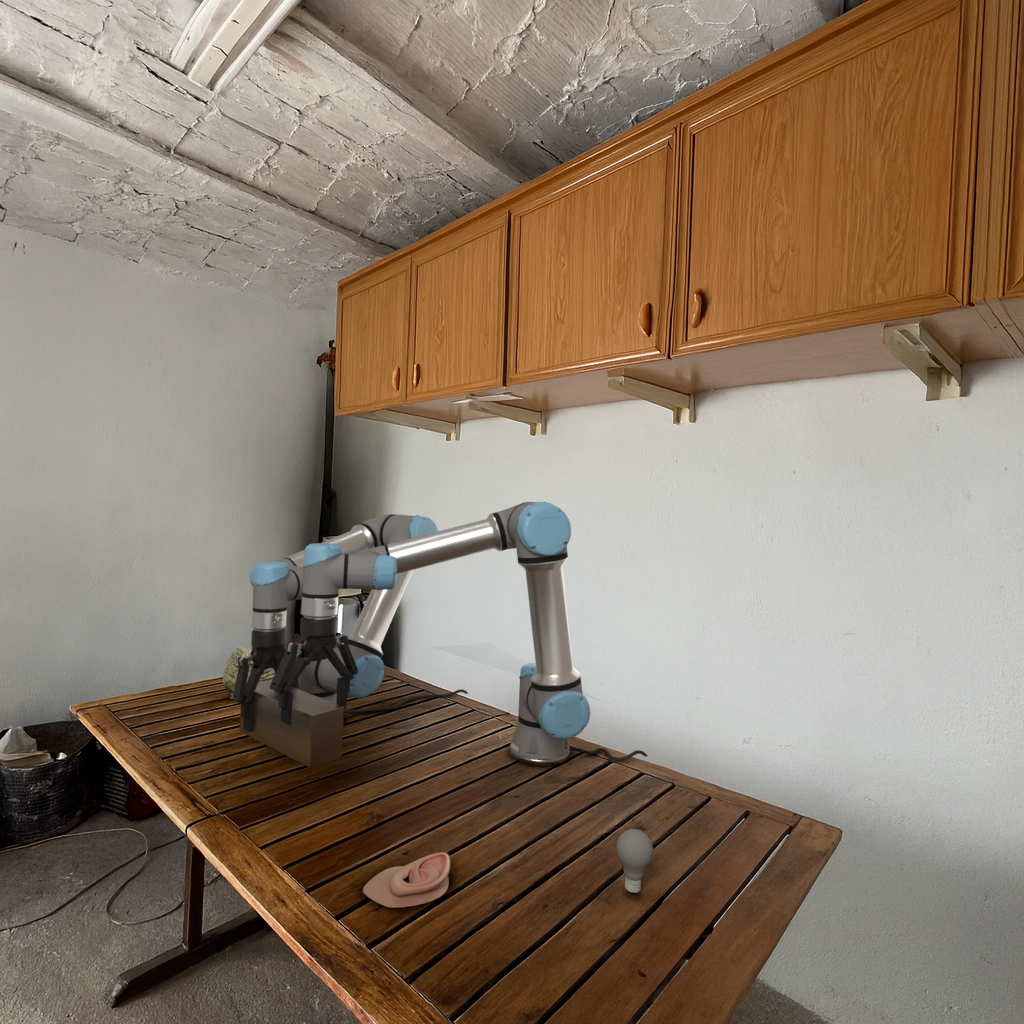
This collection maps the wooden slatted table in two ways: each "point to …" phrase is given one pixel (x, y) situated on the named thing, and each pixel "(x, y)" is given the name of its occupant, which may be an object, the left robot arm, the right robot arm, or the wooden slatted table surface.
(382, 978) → the wooden slatted table surface
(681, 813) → the wooden slatted table surface
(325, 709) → the box
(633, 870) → the light bulb
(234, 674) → the fossil
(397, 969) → the wooden slatted table surface
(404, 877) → the anatomical model
